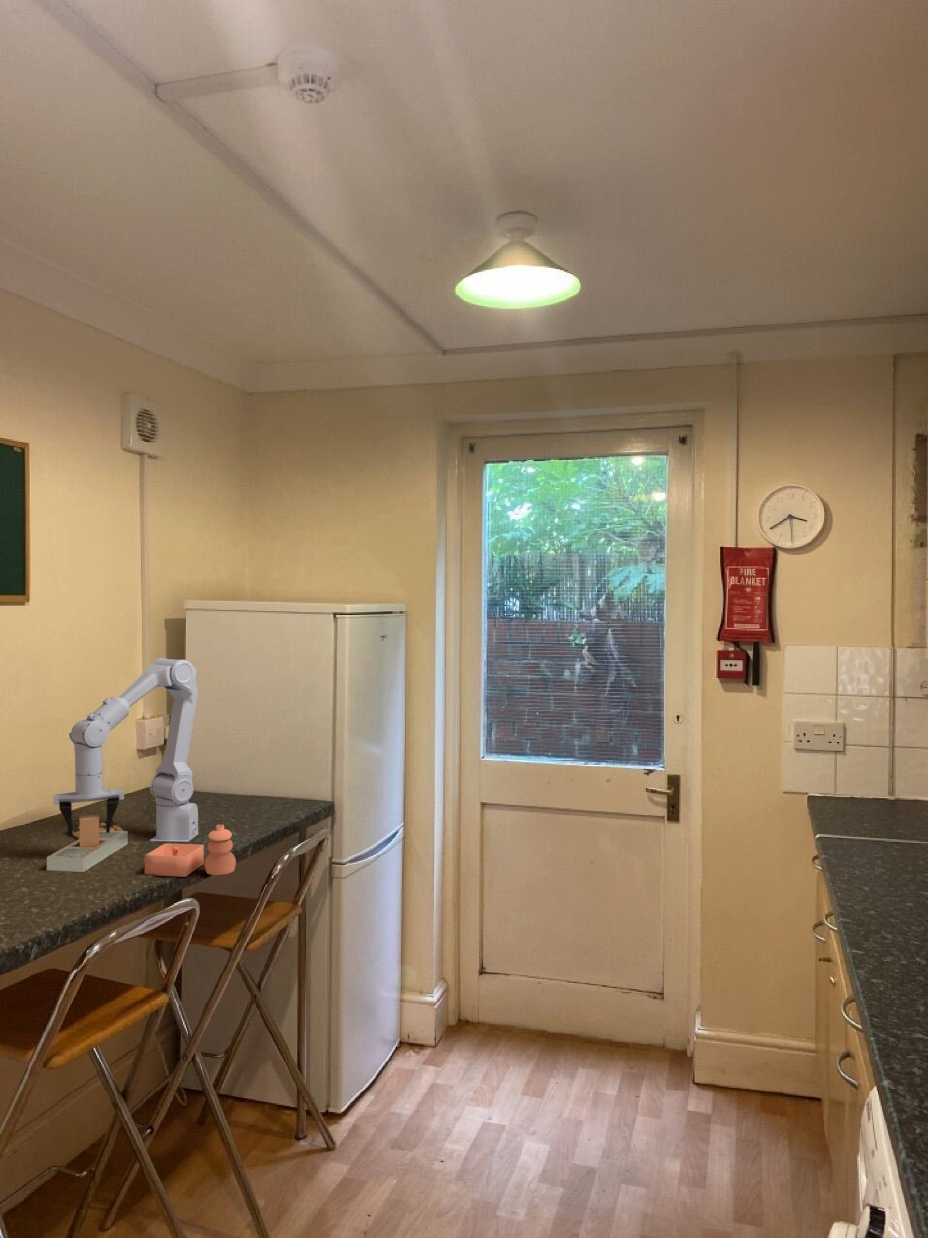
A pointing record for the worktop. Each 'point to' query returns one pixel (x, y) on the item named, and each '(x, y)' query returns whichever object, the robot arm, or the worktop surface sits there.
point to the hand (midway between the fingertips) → (89, 833)
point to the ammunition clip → (101, 828)
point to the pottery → (193, 857)
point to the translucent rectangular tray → (86, 853)
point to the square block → (89, 831)
